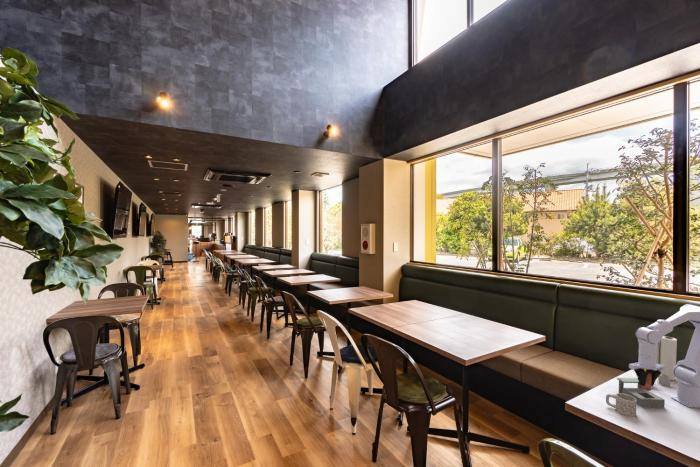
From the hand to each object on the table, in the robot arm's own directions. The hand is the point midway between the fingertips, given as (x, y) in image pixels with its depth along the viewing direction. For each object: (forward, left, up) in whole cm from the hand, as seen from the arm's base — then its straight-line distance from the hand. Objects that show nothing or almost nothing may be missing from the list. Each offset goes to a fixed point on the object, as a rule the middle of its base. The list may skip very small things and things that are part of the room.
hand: (646, 385), depth 142 cm
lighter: (-25, -19, -8) cm, 32 cm away
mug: (+17, +6, -8) cm, 20 cm away
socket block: (0, -3, -8) cm, 9 cm away
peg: (0, 0, -2) cm, 2 cm away
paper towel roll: (-35, -26, -8) cm, 44 cm away
